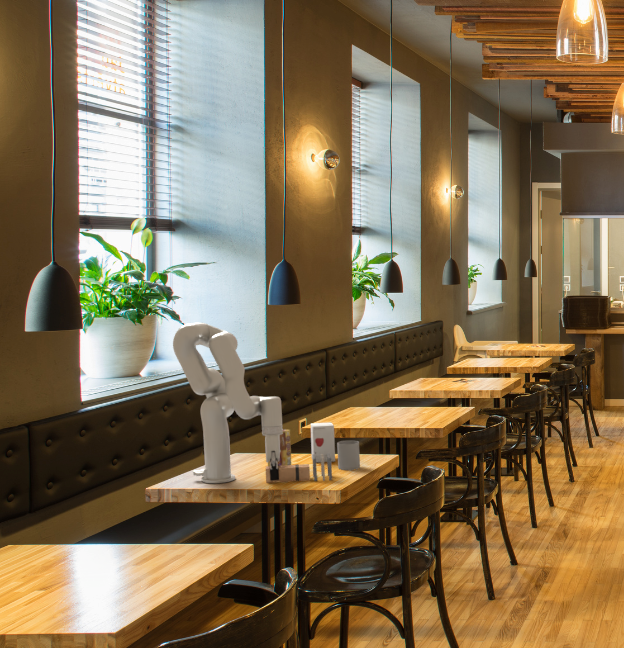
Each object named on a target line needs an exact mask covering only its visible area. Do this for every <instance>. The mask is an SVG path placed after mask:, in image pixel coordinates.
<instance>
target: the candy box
mask: <svg viewBox="0 0 624 648" xmlns="http://www.w3.org/2000/svg"><path fill="white" fill-rule="evenodd" d="M291 447H292V446H291V429H283V434H282V435H280V459H279V462H278V464H279V466H283V465H292V448H291ZM267 466H270V461H269V462H268V463H267Z"/></svg>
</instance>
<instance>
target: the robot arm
mask: <svg viewBox="0 0 624 648" xmlns="http://www.w3.org/2000/svg"><path fill="white" fill-rule="evenodd" d="M200 345H201V346H204V347H206V348H208V349H209V351H210V353H211V355H212V357H213V359H214V361H215V363H216V365H217V367H218V369H219V371H218V370H217V369H215V368H214V367H213V368H212V367H208V366H207V364H206V363H205V360H204V358H203V356H202V355H201V353H200V352H199V351H198V349H197V346H200ZM172 346H173V347H172V348H173V352H174V354H175V357H176V359H177V361H178V362H179V365H180V366H181V369H182V371H183V373H184V376H185V377H186V378H187V381H188V383H189V385H190V388H191V390H192V391H193V392H194V393H195V394H196V395H198V396H205V397H206V398H205V399H204V400H203V402H202V404H201V406H200V418H201V419H200V420H201V424H202V431H203V448H204V449H203V451H204V454H203V455H204V468H202V469H200V470H199V469H196V470H193V472H192V473H193V476H196V477H201V478H200V479H201V482H202V483H204V484H205V483H206V484H224V483H228V482H232V481H234V480H236V475H235V474H233V473H232V471H231V470H232V468H231V465H232V464H231V451H230V450H231V447H230V446H231V445H230V430H229V424H228V420H227V419H228V418H229V417H230V416H231V415H233V413H234V411H235V413H236V415H238V417H240V419H242V420H251V419H253V418H255V417H257V416H261V430H262V431H261V434H262V436H264V437H265V438H264V439H265V440H264V444H265V445H264V446H265V462H266V464H268V462H269V461H270V480H271V481H272V480H279V469H278V466H279V464H278V462H279V459H280V435H282V434H283V430H284V429H283V414H282V413H283V412H282V400H281V398H280V397H279V396H275V395H274V396H258V395H252V396H250V394H249V393H248V391H247V388H246V385H245V379H244V378H245V371H246V370H245V366H244V364H243V362H242V360H241V358H240V356H239V354H238V352H237V348H238V346H239V344H238V340H237V338H236V336H235V335H234V334H232V333H231V332H228V331H226V330H224V329H221V328H218V327H216V326H213V325H211V324H208V323H205V322H192V323H191V322H190V323H186V324H184V325H181V326H180V327H179V328H178V330H177V331H175V334H174V336H173V341H172Z"/></svg>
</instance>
